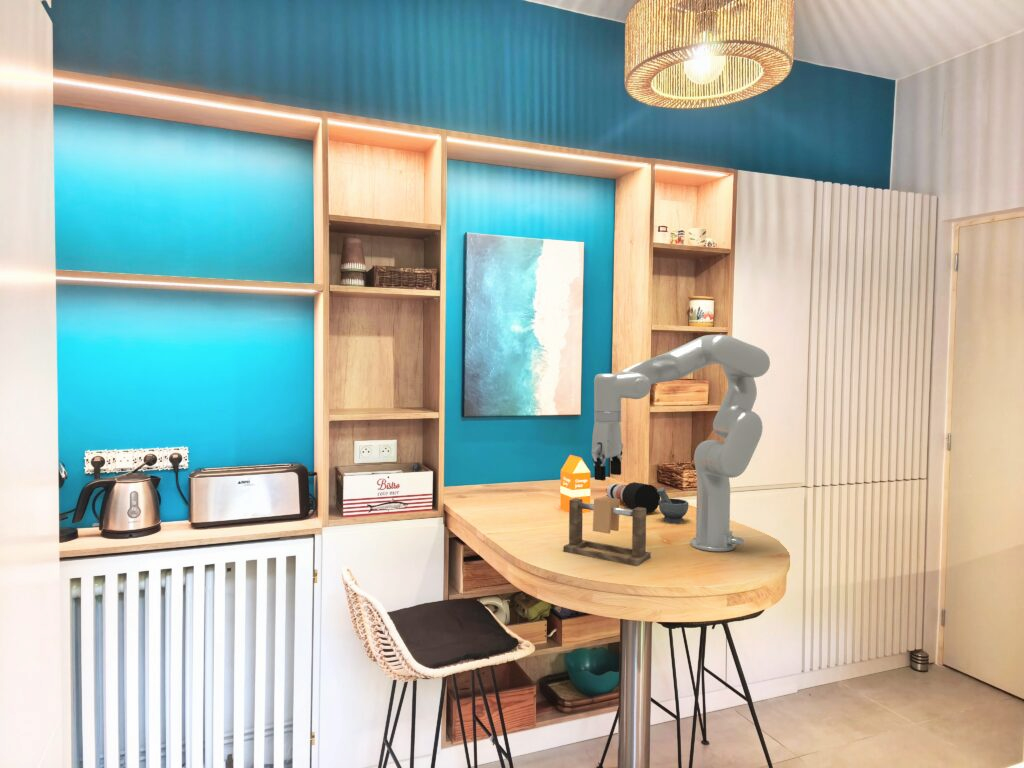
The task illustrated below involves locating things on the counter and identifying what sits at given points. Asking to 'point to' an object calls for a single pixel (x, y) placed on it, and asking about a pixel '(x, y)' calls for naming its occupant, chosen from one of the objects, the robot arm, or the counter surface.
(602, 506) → the u-slot holder
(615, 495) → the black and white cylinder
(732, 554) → the counter surface
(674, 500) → the mortar and pestle
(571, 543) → the stand
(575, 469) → the orange juice
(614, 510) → the rail
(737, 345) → the robot arm
